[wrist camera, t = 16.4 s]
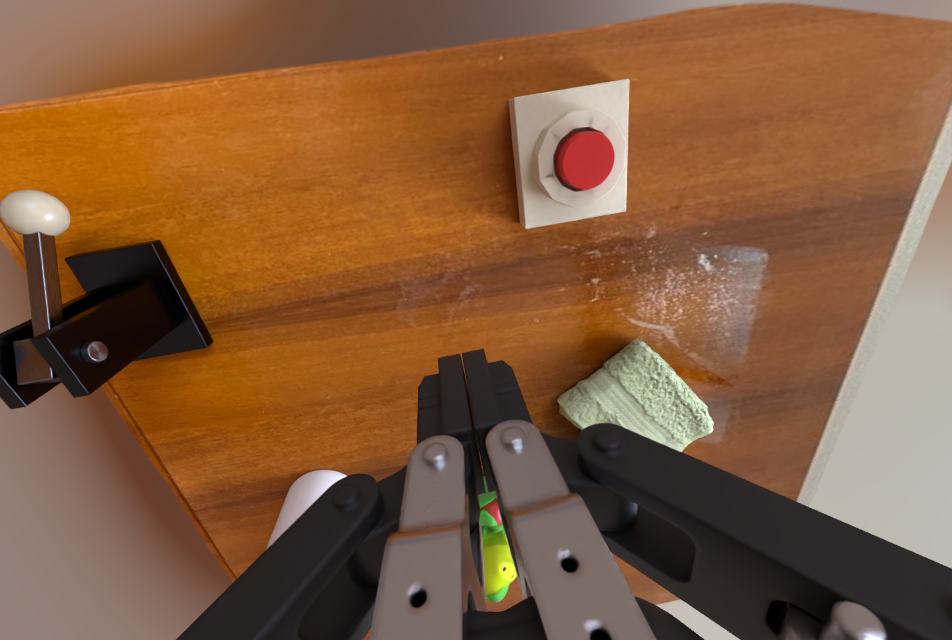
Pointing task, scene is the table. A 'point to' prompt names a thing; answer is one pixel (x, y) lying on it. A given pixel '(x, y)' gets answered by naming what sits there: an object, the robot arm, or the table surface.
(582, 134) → the button
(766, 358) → the table surface
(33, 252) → the lever
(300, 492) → the cup
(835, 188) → the table surface
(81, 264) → the bracket
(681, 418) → the washcloth
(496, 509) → the fruit basket
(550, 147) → the button box
